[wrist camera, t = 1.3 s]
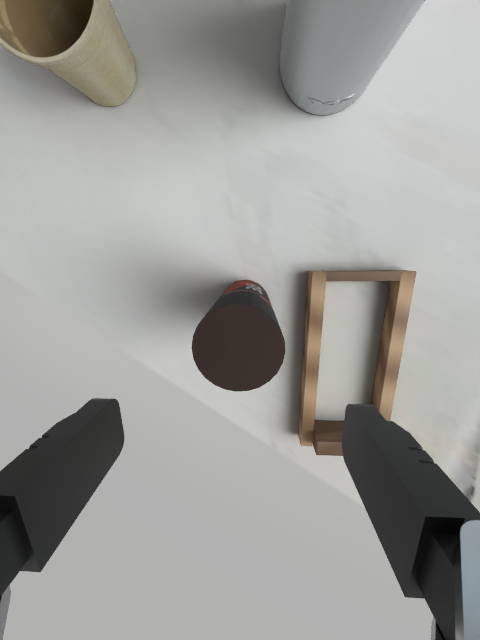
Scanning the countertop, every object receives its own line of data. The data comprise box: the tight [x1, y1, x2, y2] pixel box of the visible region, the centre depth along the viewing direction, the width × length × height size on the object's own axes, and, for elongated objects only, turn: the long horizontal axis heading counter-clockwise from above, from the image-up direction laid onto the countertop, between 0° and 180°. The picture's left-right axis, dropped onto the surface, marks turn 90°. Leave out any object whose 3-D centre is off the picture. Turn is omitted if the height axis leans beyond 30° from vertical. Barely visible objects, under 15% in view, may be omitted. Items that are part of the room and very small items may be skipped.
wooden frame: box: [298, 270, 416, 456], centre depth 29 cm, size 23×11×4 cm, turn 1°
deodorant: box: [192, 280, 285, 391], centre depth 22 cm, size 6×6×15 cm
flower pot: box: [0, 0, 136, 106], centre depth 20 cm, size 9×9×9 cm
